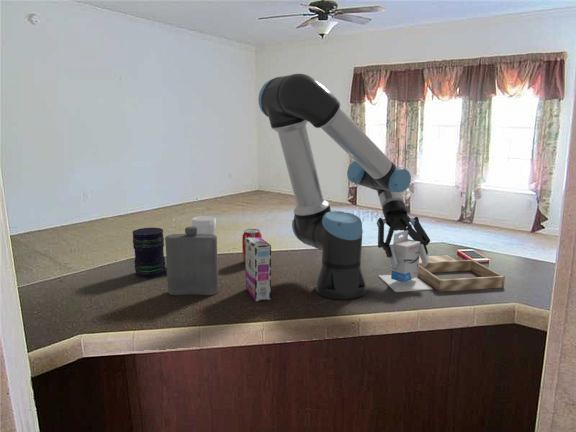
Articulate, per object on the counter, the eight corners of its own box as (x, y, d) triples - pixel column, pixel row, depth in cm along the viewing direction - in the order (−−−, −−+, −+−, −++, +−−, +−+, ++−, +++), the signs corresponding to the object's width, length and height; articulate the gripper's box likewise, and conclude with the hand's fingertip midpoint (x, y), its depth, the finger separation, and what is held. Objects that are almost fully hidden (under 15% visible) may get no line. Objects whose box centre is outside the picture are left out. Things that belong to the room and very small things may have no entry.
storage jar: (146, 281, 142) (143, 236, 139) (129, 274, 148) (125, 231, 145) (171, 273, 150) (169, 230, 147) (154, 267, 155) (151, 226, 152)
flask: (220, 288, 136) (218, 225, 132) (217, 295, 130) (215, 229, 126) (171, 288, 136) (167, 225, 131) (166, 295, 130) (162, 229, 126)
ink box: (404, 283, 136) (407, 237, 133) (390, 279, 139) (392, 234, 136) (418, 276, 142) (421, 232, 138) (405, 272, 145) (407, 229, 142)
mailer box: (439, 291, 133) (439, 280, 133) (394, 258, 166) (395, 249, 165) (503, 287, 137) (504, 276, 136) (447, 256, 169) (448, 247, 169)
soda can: (239, 264, 159) (239, 232, 156) (247, 258, 165) (246, 227, 163) (258, 266, 157) (257, 233, 154) (264, 260, 163) (264, 229, 161)
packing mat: (395, 292, 133) (395, 290, 133) (378, 276, 146) (378, 275, 146) (432, 289, 135) (432, 288, 135) (412, 274, 148) (412, 273, 148)
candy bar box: (272, 300, 127) (271, 245, 123) (255, 302, 125) (254, 246, 122) (260, 286, 137) (260, 235, 134) (245, 289, 135) (244, 237, 132)
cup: (191, 258, 166) (189, 216, 163) (215, 256, 169) (214, 215, 165) (194, 265, 158) (192, 221, 154) (219, 263, 160) (218, 220, 157)
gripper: (419, 210, 153) (439, 268, 141) (358, 212, 149) (373, 272, 137) (428, 198, 146) (449, 257, 134) (364, 199, 143) (380, 261, 131)
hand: (410, 265), depth 136 cm, fingers closed on ink box, 9 cm apart
